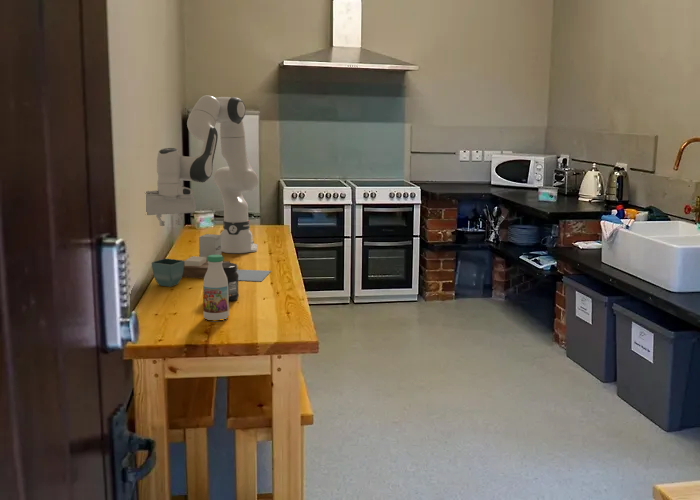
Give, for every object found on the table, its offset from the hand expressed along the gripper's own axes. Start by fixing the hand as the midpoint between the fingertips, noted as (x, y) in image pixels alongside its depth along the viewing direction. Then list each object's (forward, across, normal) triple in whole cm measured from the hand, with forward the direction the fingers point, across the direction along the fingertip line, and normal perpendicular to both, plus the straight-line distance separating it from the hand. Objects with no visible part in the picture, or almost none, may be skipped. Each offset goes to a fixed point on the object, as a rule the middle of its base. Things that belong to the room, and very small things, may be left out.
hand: (170, 225), depth 270 cm
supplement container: (+19, +4, -47) cm, 51 cm away
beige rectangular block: (+15, +8, -6) cm, 18 cm away
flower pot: (+19, -7, -20) cm, 29 cm away
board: (+19, +10, -8) cm, 23 cm away
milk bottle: (+19, -7, -68) cm, 71 cm away
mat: (+19, +25, -18) cm, 36 cm away
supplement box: (+19, +19, +7) cm, 28 cm away
